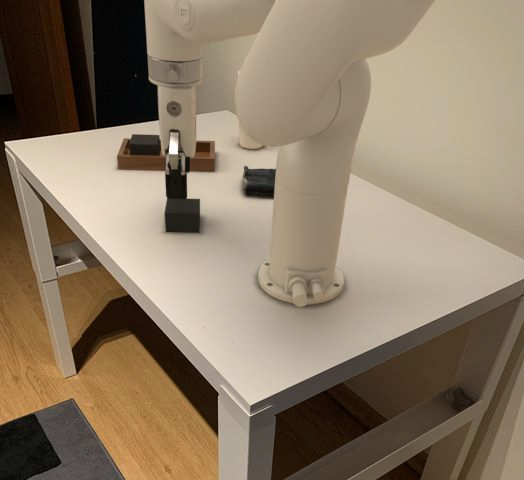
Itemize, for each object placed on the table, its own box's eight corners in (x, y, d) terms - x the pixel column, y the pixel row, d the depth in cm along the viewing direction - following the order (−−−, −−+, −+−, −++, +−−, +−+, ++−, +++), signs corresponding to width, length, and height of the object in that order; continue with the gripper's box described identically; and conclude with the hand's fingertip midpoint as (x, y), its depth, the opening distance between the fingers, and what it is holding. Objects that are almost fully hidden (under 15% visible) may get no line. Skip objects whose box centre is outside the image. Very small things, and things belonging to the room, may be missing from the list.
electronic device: (244, 207, 103) (325, 199, 102) (241, 176, 100) (324, 168, 99) (245, 192, 111) (320, 185, 110) (242, 164, 108) (319, 156, 107)
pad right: (199, 233, 91) (198, 213, 89) (165, 232, 91) (164, 212, 89) (200, 217, 96) (199, 198, 93) (168, 217, 95) (167, 197, 93)
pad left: (158, 161, 112) (157, 144, 109) (130, 161, 111) (128, 143, 109) (160, 151, 116) (159, 134, 114) (133, 151, 115) (132, 134, 113)
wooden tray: (214, 171, 111) (214, 158, 110) (118, 169, 110) (116, 156, 108) (214, 153, 119) (214, 140, 117) (125, 150, 117) (123, 138, 116)
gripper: (200, 89, 72) (200, 210, 83) (203, 55, 85) (203, 163, 96) (141, 86, 71) (149, 208, 82) (153, 51, 84) (159, 161, 95)
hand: (178, 184), depth 89 cm, fingers open, 9 cm apart
